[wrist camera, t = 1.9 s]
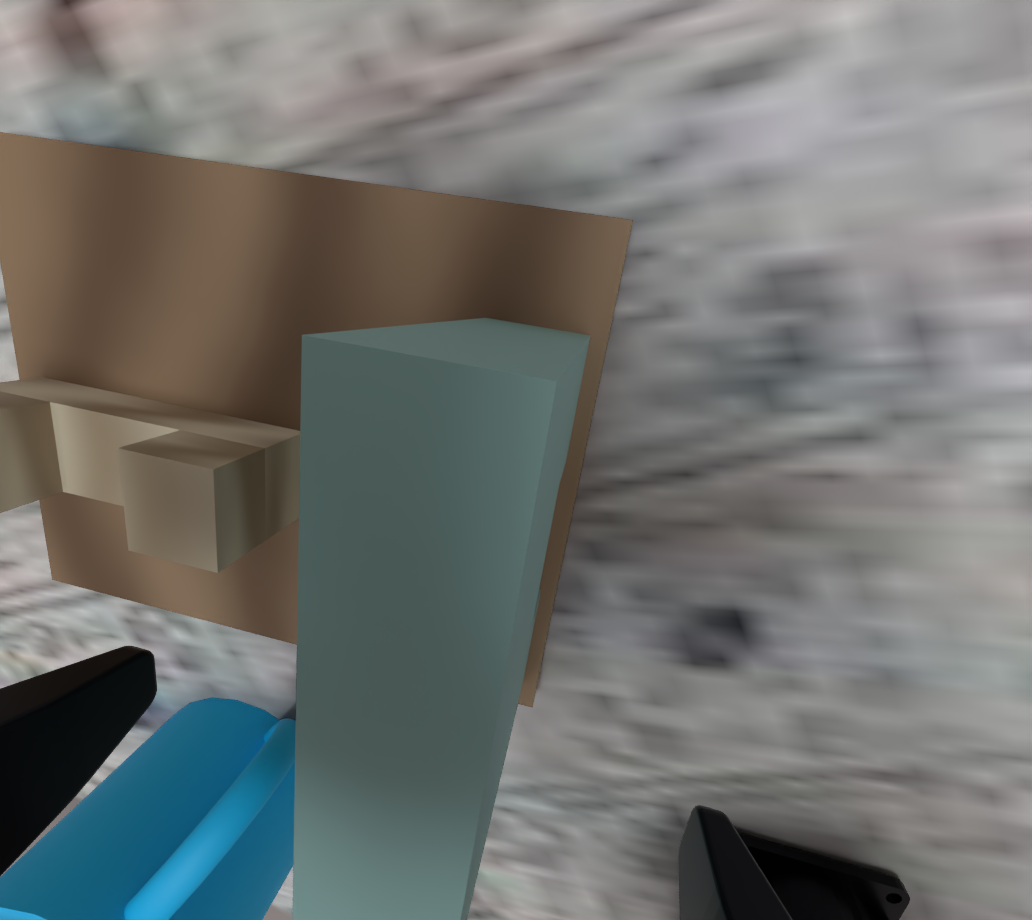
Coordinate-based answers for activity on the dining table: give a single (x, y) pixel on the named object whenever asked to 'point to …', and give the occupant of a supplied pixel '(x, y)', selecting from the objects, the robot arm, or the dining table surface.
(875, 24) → the dining table surface
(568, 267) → the board
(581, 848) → the dining table surface
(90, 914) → the mug
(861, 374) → the dining table surface
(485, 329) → the teal block
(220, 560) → the cream handle bar
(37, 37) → the dining table surface
